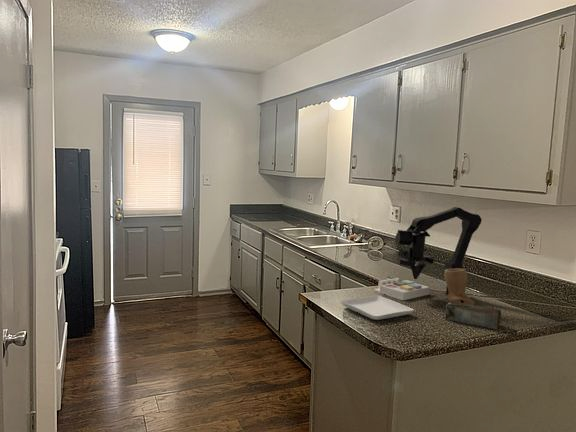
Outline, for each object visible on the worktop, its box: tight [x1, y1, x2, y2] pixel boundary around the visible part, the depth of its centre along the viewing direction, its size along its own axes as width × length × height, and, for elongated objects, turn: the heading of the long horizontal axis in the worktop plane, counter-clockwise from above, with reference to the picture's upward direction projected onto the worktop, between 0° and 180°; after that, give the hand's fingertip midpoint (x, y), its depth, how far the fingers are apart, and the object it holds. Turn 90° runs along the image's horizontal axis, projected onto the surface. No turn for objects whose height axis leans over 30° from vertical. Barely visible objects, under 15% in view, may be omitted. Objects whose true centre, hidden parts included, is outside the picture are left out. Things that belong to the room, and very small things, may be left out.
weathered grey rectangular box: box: [444, 301, 502, 330], centre depth 176 cm, size 8×19×7 cm, turn 60°
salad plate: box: [340, 294, 415, 321], centre depth 182 cm, size 21×21×3 cm
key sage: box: [400, 279, 416, 285], centre depth 218 cm, size 4×4×2 cm
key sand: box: [400, 285, 414, 291], centre depth 208 cm, size 4×4×2 cm
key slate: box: [408, 283, 422, 289], centre depth 212 cm, size 4×4×2 cm
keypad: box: [373, 277, 431, 301], centre depth 214 cm, size 16×20×4 cm
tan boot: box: [443, 268, 475, 306], centre depth 202 cm, size 15×12×15 cm
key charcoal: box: [393, 280, 407, 286], centre depth 214 cm, size 4×4×2 cm
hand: (415, 279), depth 211 cm, fingers closed
